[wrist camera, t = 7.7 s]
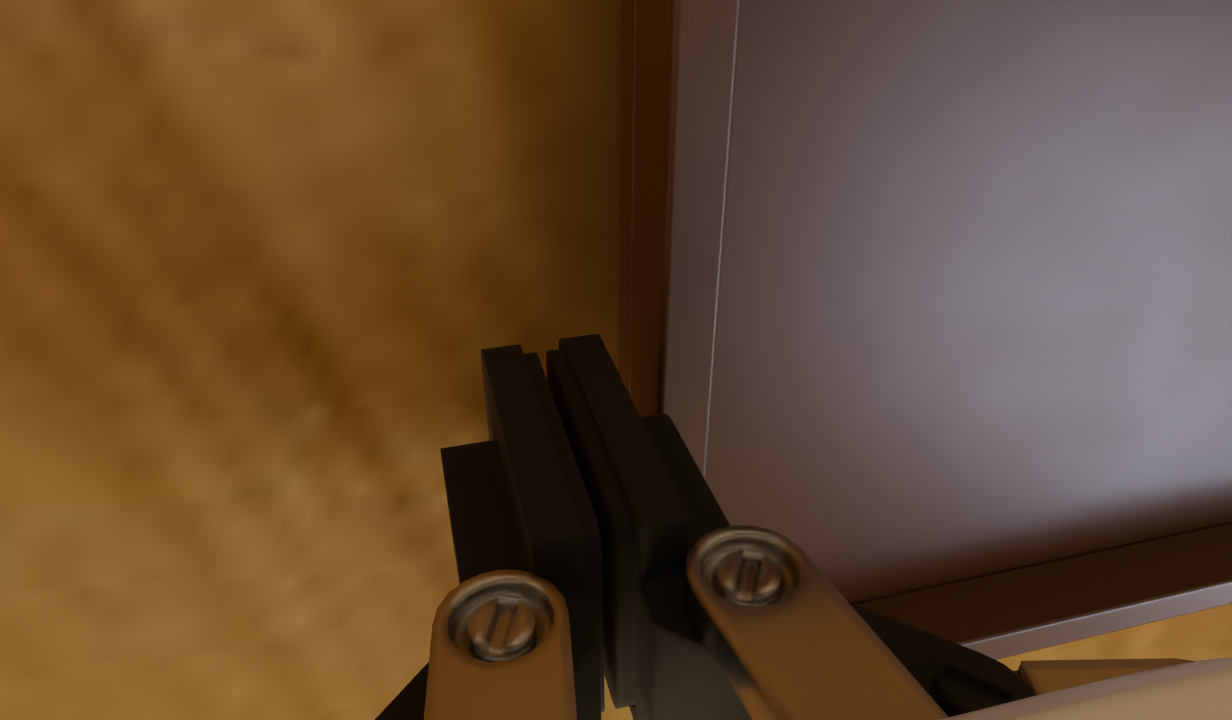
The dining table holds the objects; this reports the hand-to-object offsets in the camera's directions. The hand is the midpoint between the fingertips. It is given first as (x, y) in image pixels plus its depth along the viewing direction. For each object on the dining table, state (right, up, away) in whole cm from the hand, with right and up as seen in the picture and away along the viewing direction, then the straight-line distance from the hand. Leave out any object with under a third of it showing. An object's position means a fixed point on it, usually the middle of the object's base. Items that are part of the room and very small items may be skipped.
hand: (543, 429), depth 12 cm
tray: (+11, +2, +4) cm, 11 cm away
